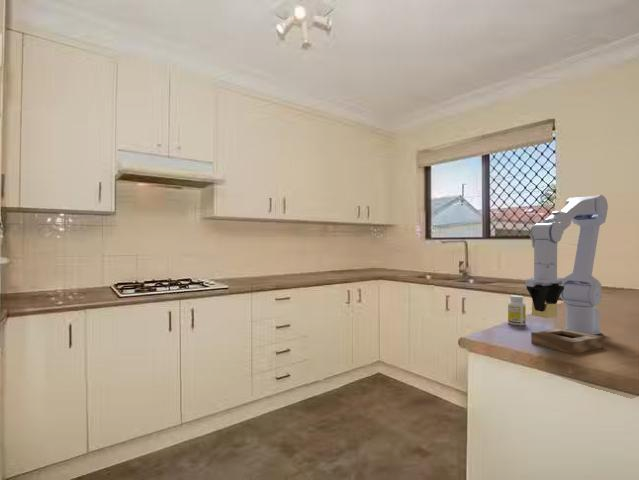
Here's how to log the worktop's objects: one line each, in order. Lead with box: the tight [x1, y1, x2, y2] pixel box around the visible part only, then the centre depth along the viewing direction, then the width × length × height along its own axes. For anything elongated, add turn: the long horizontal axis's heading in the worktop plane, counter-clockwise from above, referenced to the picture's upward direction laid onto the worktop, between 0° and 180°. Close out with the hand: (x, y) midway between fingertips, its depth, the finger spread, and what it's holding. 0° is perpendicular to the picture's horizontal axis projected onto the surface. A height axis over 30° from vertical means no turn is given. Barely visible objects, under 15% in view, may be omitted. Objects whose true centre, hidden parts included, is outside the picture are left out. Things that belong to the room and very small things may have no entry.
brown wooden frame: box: [530, 327, 604, 355], centre depth 100 cm, size 14×11×3 cm
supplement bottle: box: [507, 294, 527, 326], centre depth 125 cm, size 5×5×10 cm
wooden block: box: [531, 301, 558, 319], centre depth 104 cm, size 4×4×4 cm
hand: (544, 310), depth 104 cm, fingers closed on wooden block, 4 cm apart
